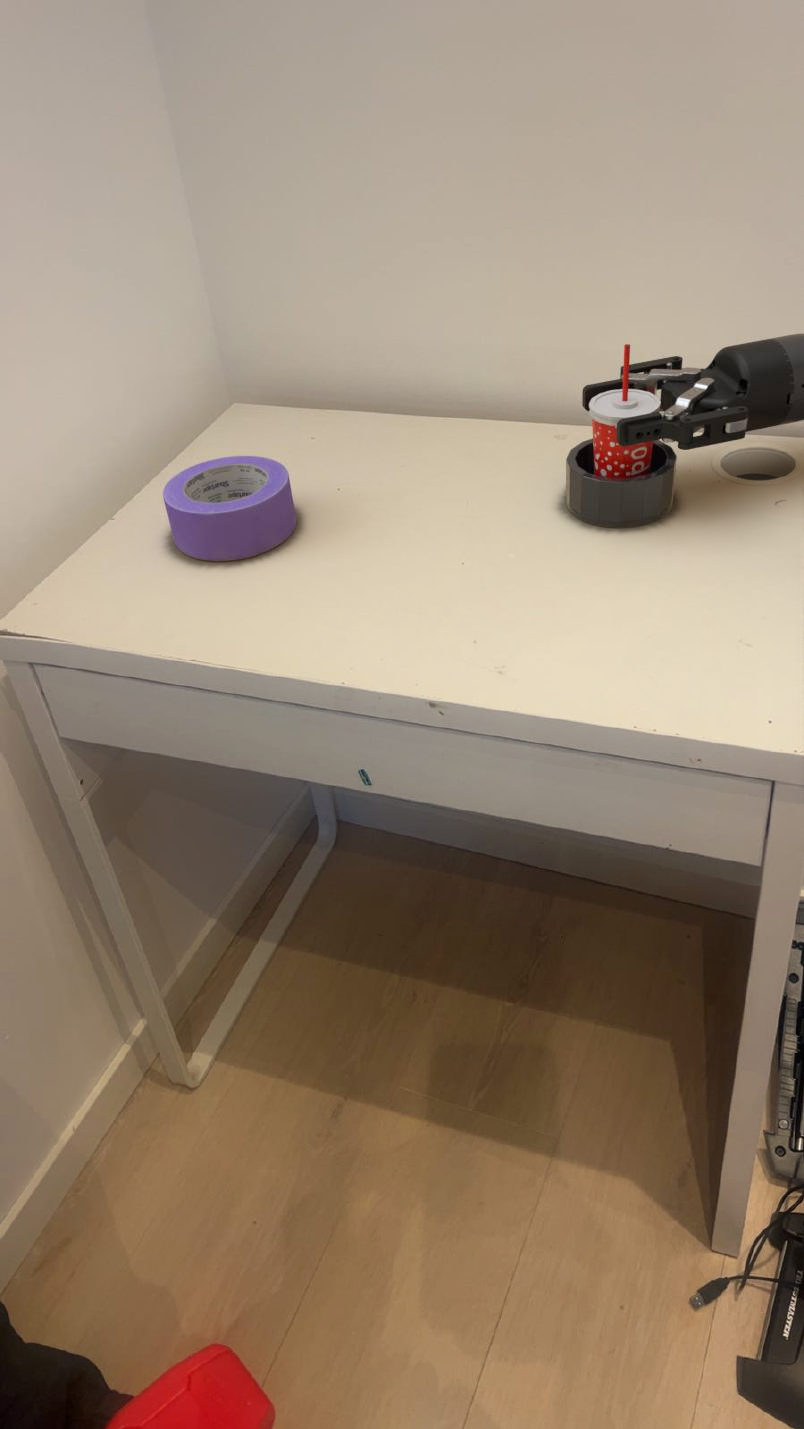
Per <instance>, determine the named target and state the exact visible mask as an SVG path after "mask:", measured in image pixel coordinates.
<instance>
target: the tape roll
mask: <svg viewBox="0 0 804 1429" xmlns="http://www.w3.org/2000/svg"><path fill="white" fill-rule="evenodd" d="M162 489H163V490H162V499H163V503H164V506H165V511H166V514H167V517H168V523H169V526H170V531H171V534H172V538H173V542H174V545H175V546H176V548H177V549H178V551H180V552H181V553H183V554H184V555H187V556H188V557H191V558H194V559H197V560H202V561H211V562H223V561H225V562H226V561H235V560H237V561H238V560H243V559H247V558H251V557H255V556H257V555H261V554H263V553H265V552H268V551H270V550H272V549H274V548H276V547H278V546H279V545H281V544H282V543H284V542H285V541H286V540H287V539H289V537H291V536H292V534H293V532H294V531H295V529H296V527H297V516H296V510H295V504H294V498H293V491H292V486H291V479H290V475H289V471H288V469H287V468H286V466H285V465H284V464H282V463H281V462H279V461H277V460H274V459H272V458H270V457H269V458H268V457H265V456H257V455H231V456H224V457H219V458H214V459H210V460H206V461H203V462H199V463H197V464H194V465H191V466H189V467H187V468H185V469H183V470H181V471H180V472H178V473H177V474H175V475H174V476H172V477H171V478H170V479H169V480H168V481H167V483H165V485H164V487H163V488H162Z"/></svg>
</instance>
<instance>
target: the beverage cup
mask: <svg viewBox="0 0 804 1429" xmlns="http://www.w3.org/2000/svg"><path fill="white" fill-rule="evenodd" d="M623 348H624V349H623V366H624V367H623V389H618V390H610V391H607V392H603V393H600V394H598V395H597V396H595V397H593V398H592V399H591V401H590V403H589V408H590V411H588V414H589V416H590V418H591V421H592V426H591V427H592V439H593V450H594V475H597V476H600V477H607V478H622V479H623V478H632V477H640V476H643V475H646V474H649V471H650V463H651V455H652V447H653V441H650V442H645V443H640V444H635V445H630V446H625V447H623V446H621V445H620V444H619V443H618V442H617V440H616V435H617V423H618V421H619V420H621V419H624V418H629V417H634V416H639V415H644V414H650V413H655V412H659V413H661V411H660V406H661V401H660V399H661V398H659V396H658V395H657V396H656V395H654V394H652V393H650V392H647V391H642V390H638V389H628V382H629V365H630V359H631V358H630V357H631V344H629V343H626V344H624V345H623Z"/></svg>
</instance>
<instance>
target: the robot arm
mask: <svg viewBox="0 0 804 1429" xmlns="http://www.w3.org/2000/svg"><path fill="white" fill-rule="evenodd" d="M683 360H684V359H683V357H682V356H679V355H674V356H668V357H661V358H658V359H657V358H656V359H651V360H647V361H642V362H636V363H629V382H628V389H638V390H642V391H647V392H650V393H652V394H654V395H656V396H658V395H657V394H658V391H659V390H660V398H659V399H660V401H661V406H660V412H655V413H650V414H644V415H639V416H634V417H629V418H624V419H621V420H619V421H618V423H617V435H616V440H617V442H618V443H619V444H620V445H621V446H623V447H625V446H630V445H635V444H640V443H645V442H650V441H655V440H660V441H661V442H663V443H665V444H672V443H675V442H676V443H677V448H678V449H679V450H682V451H689V450H693V449H697V448H703V447H707V446H712V445H713V446H714V445H718V444H724V443H728V442H733V441H738V440H739V441H740V440H743V439H744V438H746V435H747V434H746V433H748V432H753V431H757V430H763V429H768V428H772V427H777V426H778V427H779V426H782V425H788V424H792V423H798V422H802V421H804V333H793V334H788V335H787V334H786V335H782V336H777V337H776V336H775V337H771V338H766V339H761V340H755V341H750V342H745V343H739V344H734V345H729V346H725V347H722V348H721V349H720V350H719V351H718V352H717V353H716V354H715V355H714V357H713V359H712V361H711V362H710V363H709V364H708V366H706V367H705V368H699V367H687V366H686V367H683ZM623 367H624V365H621V367H620V372H619V373H620V374H619V375H620V376H619V378H618V379H611V380H606V381H601V382H595V383H590V384H586V385H585V386H584V387H583V388H582V392H581V393H582V401H581V404H582V407H583V409H584V410H586V412H589V411H590V408H589V403H590V401H591V399H592V398H593V397H595V396H597V395H598V394H600V393H603V392H607V391H610V390H618V389H623ZM661 412H663V414H662V413H661ZM701 429H703V432H702V433H701V434H700V435H694V434H695V433H696V432H698V431H699V430H701Z"/></svg>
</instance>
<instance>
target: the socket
mask: <svg viewBox="0 0 804 1429" xmlns="http://www.w3.org/2000/svg"><path fill="white" fill-rule="evenodd" d="M677 462H678V456H677V454H676V452H675V450H674V449H673V447H672V446H670V445H668V443H666V442H663V441H662V440H661V439H660V440H655V441H653V447H652V455H651V463H650V471H649V474H646V475H643V476H640V477H632V478H623V479H622V478H607V477H600V476H597V475H594V450H593V438H590V439H587V440H584V441H581V442H580V443H578V444H577V445H575V446H573V447H572V448H571V449H570V451H569V453H568V454H567V457H566V459H565V498H566V506H567V509H568V511H569V513H570V514H571V515H573V516H574V517H575V518H576V519H577V520H580V521H582V522H584V523H587V524H589V525H593V526H598V527H603V528H611V529H612V528H613V529H621V528H622V529H625V528H626V529H627V528H635V527H640V526H641V527H642V526H645V525H649V524H651V523H654V522H656V521H659V520H660V519H662V518H663V517H665V516H666V515H667V514H668V513H669V512H670V511H671V509H672V507H673V502H674V496H675V486H676V474H677V473H676V472H677Z"/></svg>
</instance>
